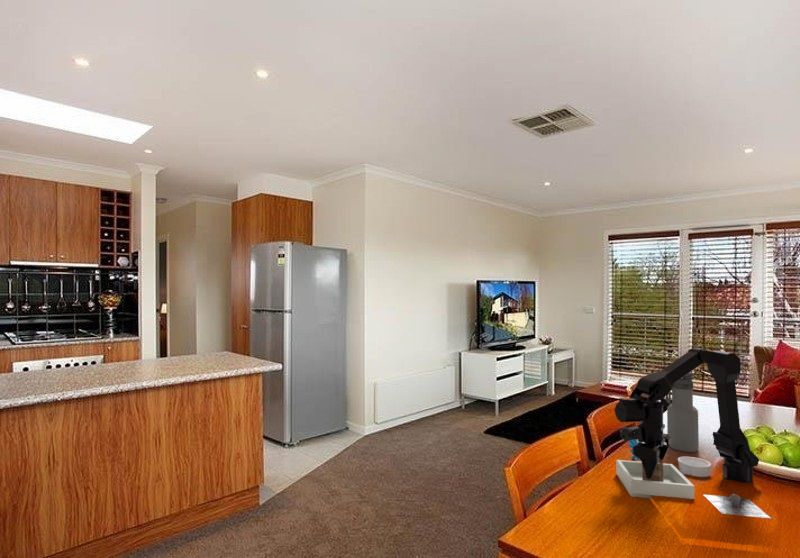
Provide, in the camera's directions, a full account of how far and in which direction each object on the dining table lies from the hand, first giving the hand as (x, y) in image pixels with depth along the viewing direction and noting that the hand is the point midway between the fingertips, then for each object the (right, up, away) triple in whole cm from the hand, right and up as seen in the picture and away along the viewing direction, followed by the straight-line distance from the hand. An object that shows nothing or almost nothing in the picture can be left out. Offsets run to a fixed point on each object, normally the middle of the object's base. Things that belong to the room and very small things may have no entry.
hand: (652, 473), depth 133 cm
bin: (0, -4, 0) cm, 4 cm away
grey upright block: (0, -3, 0) cm, 3 cm away
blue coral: (+8, -5, +20) cm, 22 cm away
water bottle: (+30, -5, +33) cm, 45 cm away
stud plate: (+14, -4, -14) cm, 20 cm away
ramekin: (+18, -5, +9) cm, 21 cm away
